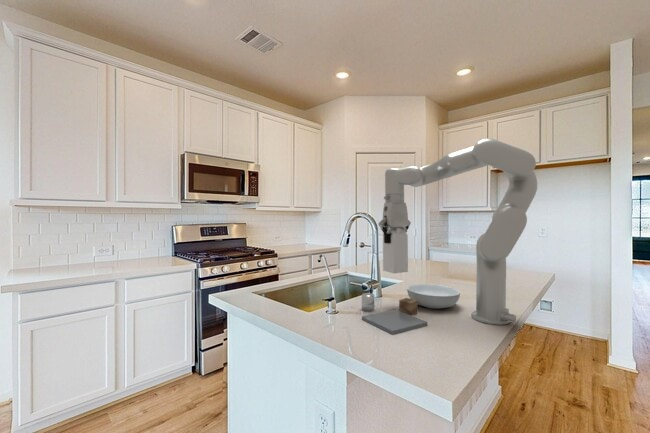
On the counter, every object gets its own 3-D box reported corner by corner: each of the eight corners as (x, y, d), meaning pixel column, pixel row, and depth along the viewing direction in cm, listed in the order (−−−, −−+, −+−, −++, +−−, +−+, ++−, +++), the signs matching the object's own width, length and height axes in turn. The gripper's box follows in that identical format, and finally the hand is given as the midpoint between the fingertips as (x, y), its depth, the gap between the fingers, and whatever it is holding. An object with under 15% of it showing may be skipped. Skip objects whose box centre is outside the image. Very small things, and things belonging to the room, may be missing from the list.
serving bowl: (465, 315, 119) (465, 297, 118) (408, 311, 123) (408, 294, 123) (454, 300, 139) (454, 284, 139) (405, 297, 143) (405, 282, 143)
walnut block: (417, 313, 121) (417, 300, 121) (410, 316, 118) (410, 303, 117) (405, 310, 125) (405, 297, 125) (399, 313, 121) (399, 300, 121)
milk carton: (383, 270, 129) (382, 224, 129) (396, 269, 132) (396, 224, 132) (393, 273, 123) (393, 225, 123) (408, 272, 126) (407, 224, 126)
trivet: (427, 325, 108) (427, 322, 108) (392, 334, 100) (392, 330, 100) (395, 312, 122) (395, 309, 122) (362, 319, 114) (362, 316, 114)
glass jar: (376, 310, 124) (377, 295, 124) (366, 312, 122) (366, 297, 122) (369, 307, 128) (369, 292, 128) (359, 309, 126) (359, 294, 126)
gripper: (384, 198, 119) (384, 244, 120) (417, 199, 128) (417, 242, 128) (371, 199, 126) (372, 243, 126) (403, 199, 135) (404, 240, 135)
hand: (395, 242), depth 127 cm, fingers closed on milk carton, 7 cm apart
